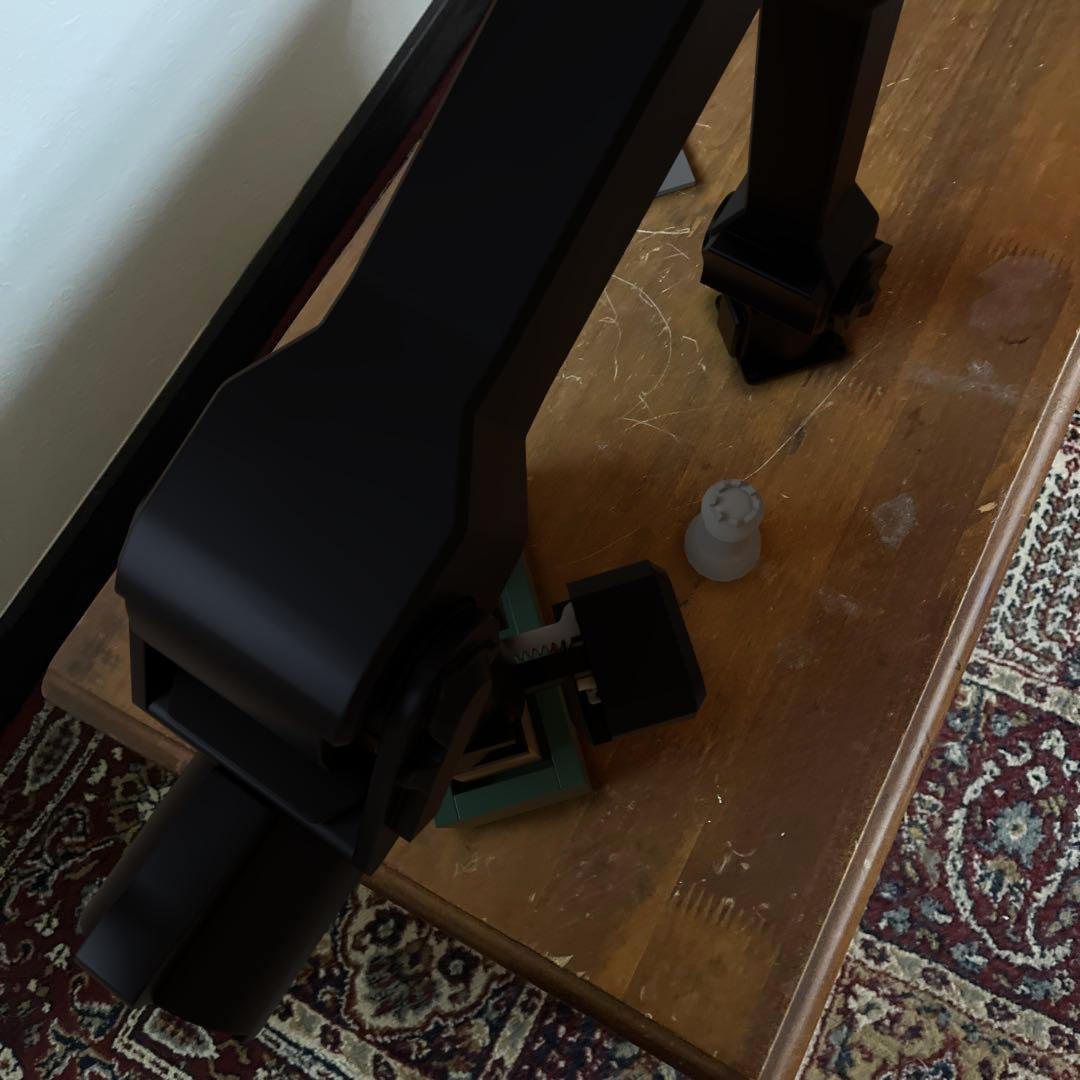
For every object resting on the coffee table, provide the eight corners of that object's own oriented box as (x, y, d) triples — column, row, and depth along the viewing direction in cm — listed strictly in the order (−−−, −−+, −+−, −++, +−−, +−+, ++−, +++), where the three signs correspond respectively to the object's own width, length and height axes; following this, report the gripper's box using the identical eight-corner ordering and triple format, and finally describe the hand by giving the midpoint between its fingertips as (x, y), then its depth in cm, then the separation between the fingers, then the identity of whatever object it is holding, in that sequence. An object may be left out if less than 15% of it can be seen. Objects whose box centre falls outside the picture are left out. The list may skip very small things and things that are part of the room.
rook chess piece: (768, 523, 57) (789, 474, 49) (748, 593, 55) (766, 554, 48) (695, 502, 57) (704, 451, 50) (673, 571, 56) (679, 529, 49)
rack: (502, 474, 59) (480, 416, 51) (593, 792, 53) (585, 783, 45) (387, 508, 59) (348, 456, 51) (465, 829, 53) (434, 828, 45)
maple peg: (523, 684, 49) (502, 655, 41) (545, 761, 47) (527, 746, 40) (448, 706, 49) (413, 681, 41) (467, 784, 47) (435, 773, 40)
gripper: (620, 368, 33) (626, 515, 48) (100, 524, 33) (267, 622, 48) (727, 680, 29) (697, 733, 44) (145, 852, 29) (310, 848, 44)
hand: (487, 726), depth 45 cm, fingers open, 8 cm apart
